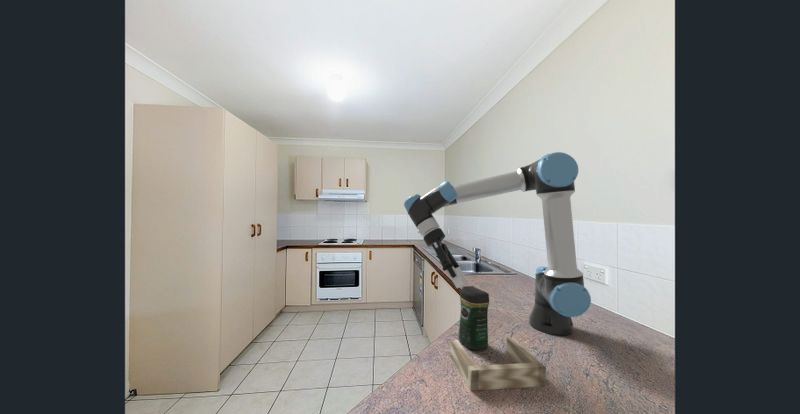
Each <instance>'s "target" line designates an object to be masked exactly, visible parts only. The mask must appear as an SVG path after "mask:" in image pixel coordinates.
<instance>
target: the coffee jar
mask: <svg viewBox="0 0 800 414" xmlns="http://www.w3.org/2000/svg"><path fill="white" fill-rule="evenodd" d="M459 300H460V316H459V329H458V341H459V343H460V344H461V345H463V346H465V347H466V348H468V349H469V350H475V351H481V350H484V349H486V348H488V346H489V334H488V333H489V331H488V322H489V321H488V320H489V319H488V310H489V306H490V294H489V293H488V292H487V291H483V290H482V289H479V288H477V287H475V286H474V285H469V286H467V285H466V286H465V285H464V286H462V288H461V289H460V294H459Z"/></svg>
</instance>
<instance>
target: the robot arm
mask: <svg viewBox="0 0 800 414" xmlns="http://www.w3.org/2000/svg"><path fill="white" fill-rule="evenodd" d="M578 175H579V166H578V163H577V161H576V160H575V158H574V157H573V156H571V155H570V154H568V153H565V152H563V151H562V152H561V151H560V152H559V151H556V152H551V153H547V154H545V155H544V156H542V157H541V158H540V159H538V160H536V161H534V162H533V163H531V164H527V165H524V166H521V167H518V168H517V169H516V171H510V172H507V173H503V174H498V175H494V176H490V177H485V178H482V179H477V180H473V181H469V182H464V183H460V184H456V185H452V184H451V182H450V181H449V180H445V181H444V182H441V183H440V184H438V186H436V187H434V188H433V189H432V190H430V191H429V192H427V193H426V194H424V195H422V196H421V195H420V194H419V193H416V194H413V195H411V196H409V197H408V198H407V199H406V200H405V201H404V203H403V206H404V208H405V210H406V212H407V215H408V216H409V218H410V219H411V221H412V223H413V225H414V227H416V229H417V234H420V236H421V238H423V241H424V243H425V244H426V246H427V247H429V248H430V247H432V248H433V250H434V252H435V253H436V257H437V258H438V259H439V262H440V264H441V266H442V271H443V272H445V271H446V273H447V274H448V276H449V278H450V279H451V281H452V283H453V284H454V286H455V288H456V289H459V288H461V287H465V285H467V284H469V283H470V281H469V280H468V278H467V277H466V275H465V274H464V272H463V270H462V269H461V265H462V264H460V263H458V262H457V260H456V259H455V257H454V256H453V254H452V253H451V251H450V249H449V248H448V246H447V245H446V243H443V242H442V241H443V240H445V238H446V234H445V233H444V231H443V229H442V228H441V227H440V225H439V223H438V222H437V220H436V218H435V217H434V216H433V214H435V213H436V212H438V211H439V210H441V209H442V208H446V207H448V206H453V205H458V204H462V203H466V202H471V201H475V200H479V199H486V198H490V197H494V196H499V195H503V194H507V193H511V192H512V193H513V192H518V191H521V192H530V191H535V193H536V194H535V195H536V196H537V197H538V198H539V199H540V200H541V205H542V216H543V224H544V225H543V227H544V236H545V237H544V238H545V248H546V259H547V266H537V267H536V268H535V274H534V276H535V280H534V281H535V283H534V285H535V286H534V305H533V308H532V309H531V313H530V315H529V317H528V319H529V320H528V323H529V325H530V326H531V327H532V328H534V329H536V330H538V331H540V332H544V333H546V334H550V335H554V336H555V335H556V336H570V335H572V334H573V333H574V323H573V319H572V318H577V317H579V316H582V315H584V314H585V313H586V312H587V311H588V310H589V309H590V307H591V303H592V298H591V294H590V292H589V290H588V289H587V287H585V282H584V280H585V279H584V273H583V272H582V271H581V270H580V269H578V266H577V254H576V252H577V251H576V245H575V242H576V241H575V233H574V222H573V221H574V220H573V212H572V200H571V197H572V195H573V194H575V192H576V189H575V187H576V185H575V181H576V179H577V177H578Z"/></svg>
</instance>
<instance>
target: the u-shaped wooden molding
mask: <svg viewBox="0 0 800 414" xmlns="http://www.w3.org/2000/svg"><path fill="white" fill-rule="evenodd" d="M505 351H506V352H505V355H507V356H508V357H509V358H510V360H511V361H513V363H503V364H501V363H500V364H480V365H477V364H476V363H475V362H474V361H473V359H472V358H471V357H470V355H469V354H468V353H467V351H466V349H465V348H464V347H463V344H462V343H461V342H460V340H459V339H450V354H449V355H450V358H451V359H452V361H453V363H454V365H455V367H456V369H457V370H458V372H459V373H460V375H461V377H462V379H463V380H464V382H465V383H466V385H467V386H468V388H469V390H470V391H472V392H473V391H484V390H485V391H486V390H489V391H490V390H502V389H506V390H507V389H516V388H517V389H519V388H521V389H522V388H536V387H546V375H547V374H546V370H547V368H546V367H547V366H546V365H545V364H543V362H541V361H540V360H539V359H538V358H536V356H534V355H533V354H532V353H531V352H530V351H528V350H527V349H526V348H525V347H524V346H523V345H522V344H520V343H519V342H518V341H517V339H515V338H513V337H507V338H506V349H505Z"/></svg>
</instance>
